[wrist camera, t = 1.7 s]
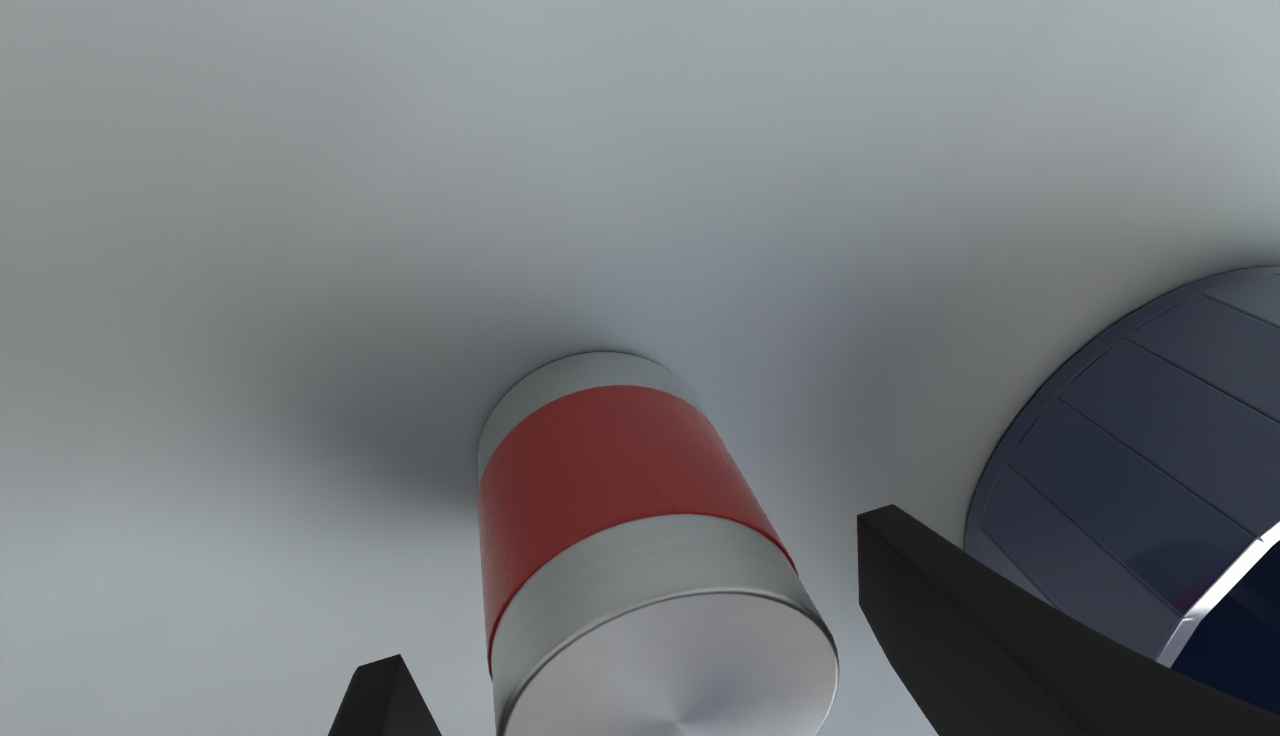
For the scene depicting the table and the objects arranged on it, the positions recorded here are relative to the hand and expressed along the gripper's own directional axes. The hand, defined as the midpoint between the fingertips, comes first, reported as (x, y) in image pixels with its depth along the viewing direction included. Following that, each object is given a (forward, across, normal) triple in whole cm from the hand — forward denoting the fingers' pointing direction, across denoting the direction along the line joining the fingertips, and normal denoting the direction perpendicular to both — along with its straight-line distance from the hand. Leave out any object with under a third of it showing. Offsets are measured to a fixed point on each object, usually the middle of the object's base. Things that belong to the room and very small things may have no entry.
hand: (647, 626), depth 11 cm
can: (+5, 0, 0) cm, 5 cm away
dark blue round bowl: (+5, -15, +6) cm, 17 cm away
